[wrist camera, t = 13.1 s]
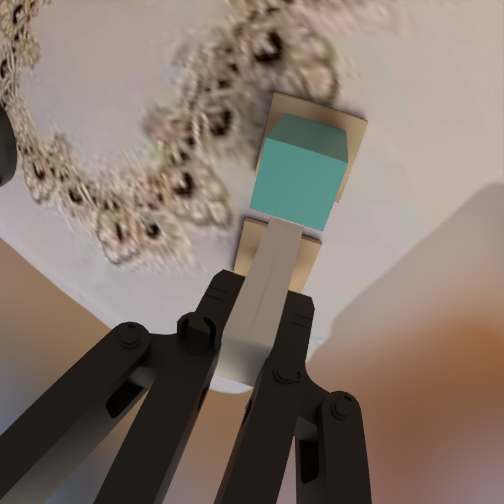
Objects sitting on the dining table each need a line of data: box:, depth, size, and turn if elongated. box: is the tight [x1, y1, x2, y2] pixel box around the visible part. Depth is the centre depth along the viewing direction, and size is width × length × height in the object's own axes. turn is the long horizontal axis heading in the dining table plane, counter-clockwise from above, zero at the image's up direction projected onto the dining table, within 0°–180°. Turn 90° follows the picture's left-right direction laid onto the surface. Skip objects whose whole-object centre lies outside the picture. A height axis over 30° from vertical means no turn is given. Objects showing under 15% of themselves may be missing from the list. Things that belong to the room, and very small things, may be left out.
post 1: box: [255, 92, 368, 203], centre depth 24 cm, size 8×8×7 cm
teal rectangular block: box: [250, 113, 348, 231], centre depth 23 cm, size 5×5×8 cm
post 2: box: [233, 217, 322, 294], centre depth 32 cm, size 8×8×7 cm
